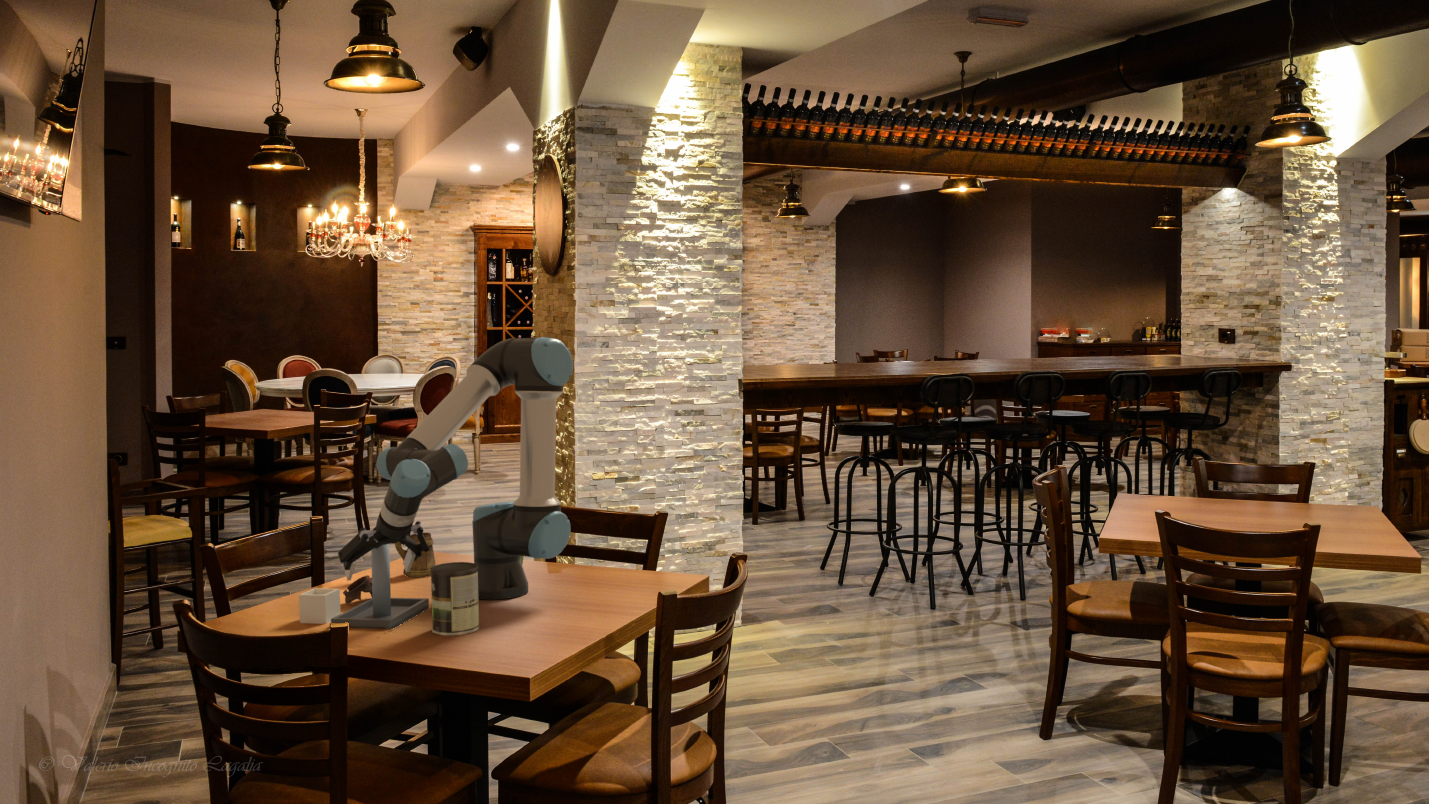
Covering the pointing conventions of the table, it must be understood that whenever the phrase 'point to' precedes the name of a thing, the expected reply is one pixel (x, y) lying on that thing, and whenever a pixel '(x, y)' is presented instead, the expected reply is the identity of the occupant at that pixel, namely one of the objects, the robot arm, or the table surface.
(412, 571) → the wooden mug
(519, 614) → the table surface
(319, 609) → the cube pedestal base
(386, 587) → the dowel
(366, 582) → the brown curved piece
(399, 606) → the tray
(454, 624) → the coffee can
